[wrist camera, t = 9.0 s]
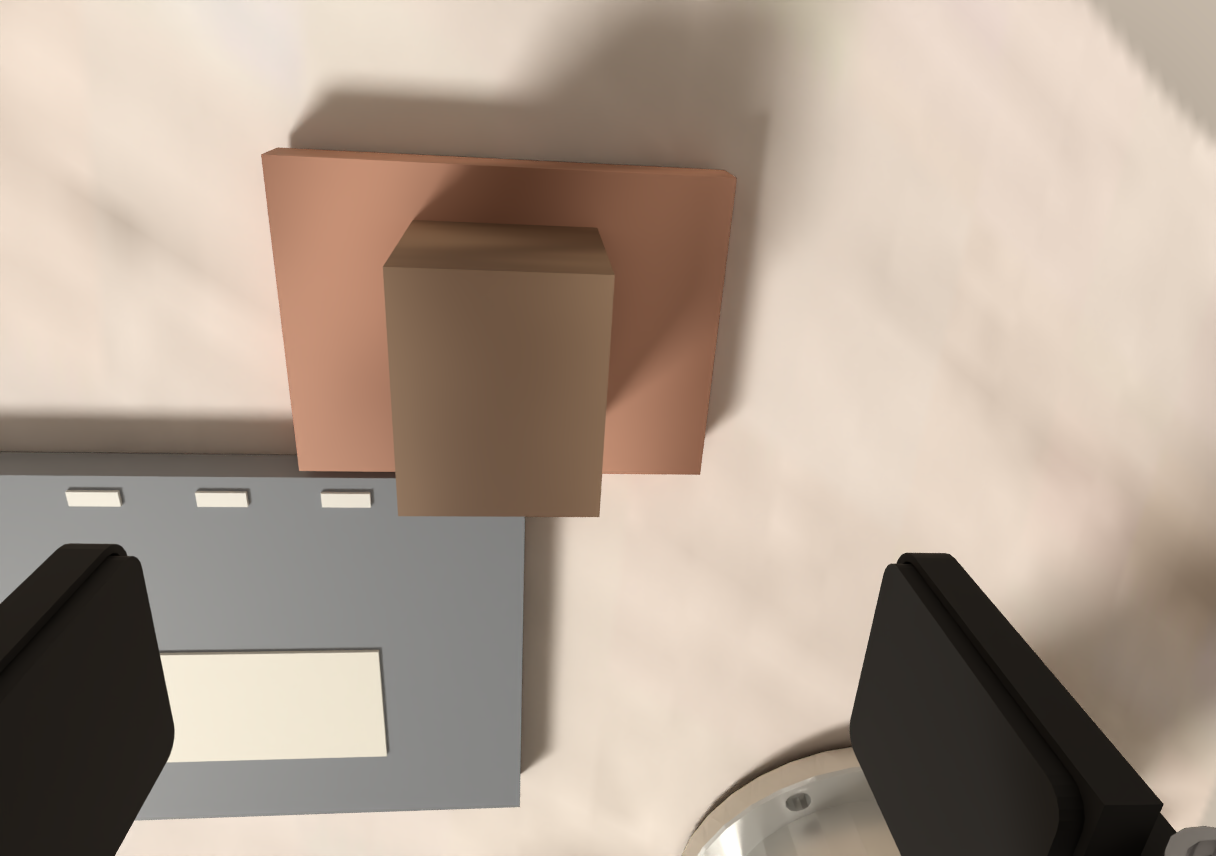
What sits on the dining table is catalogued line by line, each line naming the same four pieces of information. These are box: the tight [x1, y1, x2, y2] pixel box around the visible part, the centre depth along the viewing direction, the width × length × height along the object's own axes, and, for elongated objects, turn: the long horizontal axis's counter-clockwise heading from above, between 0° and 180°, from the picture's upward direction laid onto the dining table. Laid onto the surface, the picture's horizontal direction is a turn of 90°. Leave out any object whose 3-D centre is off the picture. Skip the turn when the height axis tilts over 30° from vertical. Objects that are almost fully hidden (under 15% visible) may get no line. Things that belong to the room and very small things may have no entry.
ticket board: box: [0, 452, 525, 820], centre depth 23 cm, size 18×12×1 cm, turn 87°
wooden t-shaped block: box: [261, 148, 737, 517], centre depth 17 cm, size 10×7×5 cm
